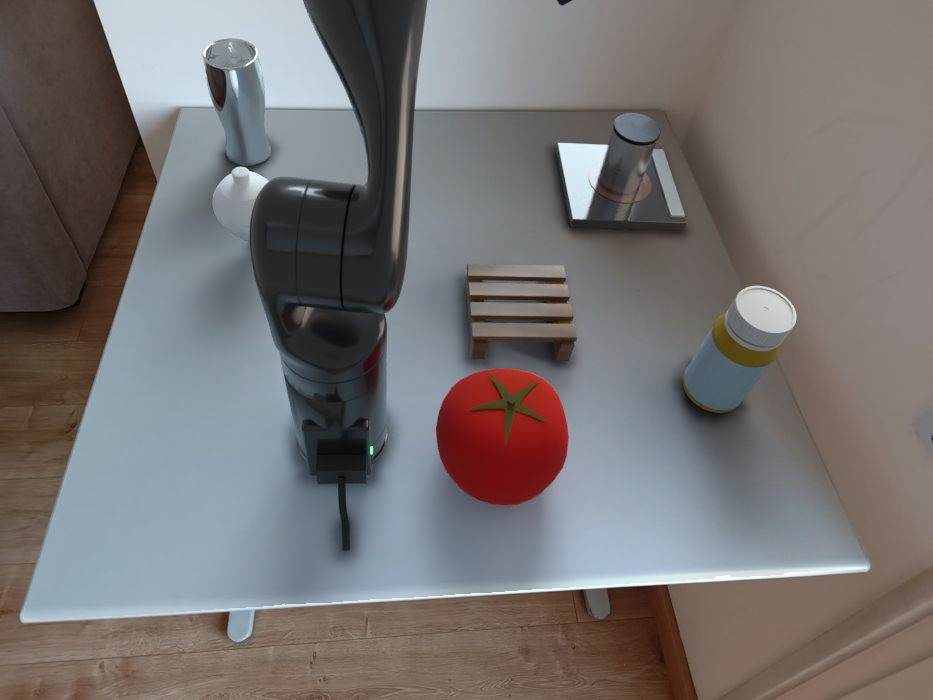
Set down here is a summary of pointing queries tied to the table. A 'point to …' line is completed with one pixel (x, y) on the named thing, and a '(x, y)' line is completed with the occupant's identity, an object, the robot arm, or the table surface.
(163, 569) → the table surface
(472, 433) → the tomato
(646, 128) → the metal canister
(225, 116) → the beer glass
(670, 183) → the stove
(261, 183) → the spinning top
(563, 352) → the wooden pallet
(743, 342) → the bottle
